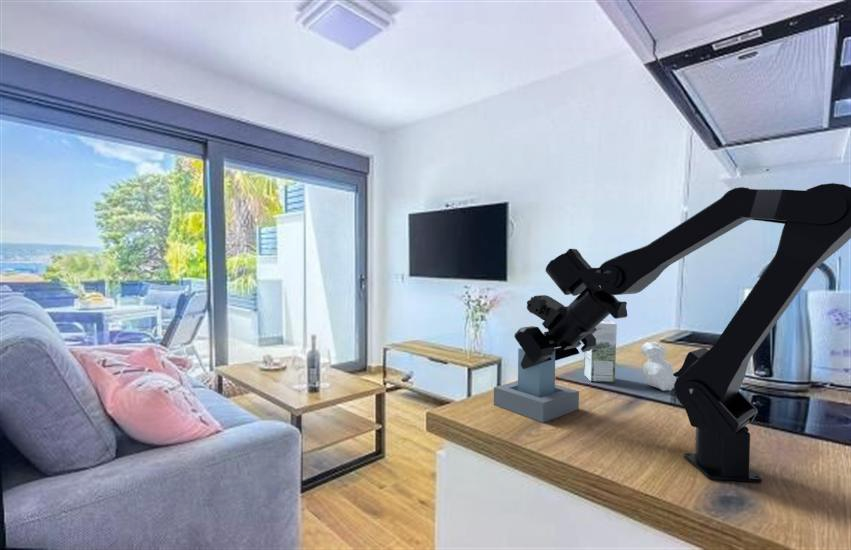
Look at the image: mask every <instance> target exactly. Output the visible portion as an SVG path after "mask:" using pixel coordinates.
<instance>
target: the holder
mask: <svg viewBox="0 0 851 550" xmlns="http://www.w3.org/2000/svg"><path fill="white" fill-rule="evenodd" d="M493 405H494V406H495V407H496V406H497V407H498V408H499V407H500V408H501V409H504V410H506V411H507V410H508V411H510V412H512V413H516V414H518V415H520V416H524V417H526V418H529V419H532V420H535V421H537V422H539V423H543V424H545V423H546V422H548V421H551V420H554V419H556V418H559V417H561V416H562V417H563V416H564V415H566V414H570V413H572V412H574V411H577V410H579V406H580V390H576V389H573V388H570V387H565V386H562V385H558V384H555V393H554V394H551V395H548V396H545V397H542V398H539V397H536V396H533V395H530V394H527V393H523V392H520V391H518V380H517V381H512V382H509V383H505V384H501V385H500V384H499V385H497V386H494V387H493Z"/></svg>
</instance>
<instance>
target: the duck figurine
mask: <svg viewBox="0 0 851 550" xmlns="http://www.w3.org/2000/svg"><path fill="white" fill-rule="evenodd" d="M640 351H641V354H642V355H643V356H647V357H648V359H647V361H646V362H645V363H643V367H642V368H643V369H642V377H643V379H644V381H645V383H646V384H647V385H648V386H650V387H654V388H657V389H660V390H661V391H663V392H664V391H669V392H670V391H672V390H674V384H675V381H676V379H677V377H676V376H673V374H674V373H675V371H674V368H673V366H672V364H671V363H670V362H669V361H668V360H666V359H665V356H666V353H667V350H666V347H663V345H660V343H657V342H656V341H652V342H648V341H646V342H645V343H644V344H643V345H642V346H641V347H640Z"/></svg>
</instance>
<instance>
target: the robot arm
mask: <svg viewBox="0 0 851 550" xmlns="http://www.w3.org/2000/svg"><path fill="white" fill-rule="evenodd" d="M748 221H758V222H765V223H775V224H781V225H782V224H783V227H782V231H781V235H780V239H779V243H778V246H777V249H776V253H775V255H774V257H773V258H772V259H771V261H770V262H769V264H768V265H767V267H765V269H764V271H763V273H762V274H761V275H760V276H759V278H758V280H757V281H756V283H755V284H754V285H753V288H752V289H751V290H750V291H749V293H748V294H747V296H746V297H745V299H744V301H743V302H742V303H741V305H740V306H739V308H738V309H737V311H736V312H735V314H734V315H733V317H732V318H731V319H730V321H729V322H728V324H727V325H726V327H725V329H724V330H723V331H722V333H721V334H720V336H719V337H718V338H717V339H716V342H714V344H713V346H711V348H709V349H708V348H706V347H704V346H703V347H702V348H698V349H695V350H691V351H688V352H687V355H686V357H685V359H684V361H683V363H682V366H681V367H680V369H678V371H675V372H674V374H673V376H676V381H675V384H674V388H673V391H674V393H675V397H676V399H677V400H678V402H679V403H680V405H682V407H684V410H685V412H686V415H687V418H688V421H689V423H690V426H691V427H692V428H693V427H694V428H695V444H694V446H695V447H694V448H695V449H694V450H695V453H690V452H685V453H684V454H683V455H684V456H683V457H684V458H685V460H687V461H689V463H691V464H692V465H693V466H694V467H695V468H696V469H697V470H699V471H700V472H701V473H702V474H703V475H704V476H705V477H706V478H708V479H711V480H716V481H717V480H720V481H737V482H751V483H752V482H753V483H754V482H755V483H762V482H763V478H762V476H760V475H758V474H757V473H756V472H755V471H753V470H752V469H750V463H751V462H750V461H751V459H750V458H751V457H750V455H751V433H750V432H749V430H750V429H749V428H748V426H747V425H748V424H752V423H753V421H754V419H755V418H756V416H757V414H758V412H759V411H758V408H757V407H756V406H755V405H754V404H753V403H752V402H751V401H750V400H749V399H748V398H747V397H746V396H745V395H744V394H743V393H742V392H741V391H740V388H741V386H742V385H743V382H744V380H745V377H746V373H747V370H748V366H749V362H750V360H751V358H752V356H753V355H754V354H755V352H756V351H757V350H758V348H759V347H760V346H761V344H762V343H763V342H764V340H765V339H766V337H767V336H768V335H769V334H770V332H771V331H772V329H773V328H774V326H775V325H776V323H777V322H778V321H779V320H780V318H781V317H782V315H783V314H784V313H785V311H786V310H787V309H788V307H789V306H790V304H792V302H793V301H794V299H795V298H796V296H797V295H798V294H799V292H800V291H801V289H802V288H803V287H804V285H805V284H806V283H807V281H808V280H809V279H810V277H811V276H812V274H813V273H814V272H815V270H816V269H817V268H818V267H820V265H822V264H823V263H824V262H826V260H828V259H829V258H830V257H831V256H832V255H834V254H835V253H836V252H838V251H839V250H840V249H841V248H842V247H843V246H844V245H845V244H847V243H848V241H850V240H851V187H850V186H848V185H845V184H842V183H835V182H831V183H824V184H823V183H822V184H819V185H817V186H813V187H810V188H807V189H806V190H799V189H797V190H796V189H781V188H780V189H778V188H777V189H769V188H768V189H763V188H762V189H761V188H759V189H757V188H756V189H754V188H749V187H744V186H743V187H742V186H740V187H734V188H732V189H729V190H728V191H726V192H725V194H723V196H721V197H720V198H719V199H718V200H716V201H714V202H713V203H711V204H710V205H708V206H706V207H705V208H703V209H702V210H700V211H699V212H697V213H695V214H694V215H692V216H691V217H688V219H686V220H684V221H683V222H681V223H680V224H678V225H677V226H675V227H673V228H672V229H670V230H668V231H667V232H665V233H664V234H663V235H660V236H659V237H658V238H656V239H655V240H653V241H651V242H650V243H648V244H647V245H645V246H641V247H640V248H639V247H638V248H637V249H633V250H630V251H627V252H624V253H621V254H620V255H619V254H618V255H617V256H615V257H612V258H610V259H608V260H606V261H603V262H602V263H601V265H599V267H592V266H591V265H590V264H589V263H588V261H586V259H585V258H584V257H583V255H582V254H581V252H580V251H579V250H578V249H576V248H568V249H567V250H566V251H565V252H563V253H561V254H560V255H558V256H556V257H555V258H554V259H551V260H550V261H549V262H548V264H547V265H546V267H545V273H546V274H547V276H549V277H550V279H551V281H553V283H554V284H555V285H556V287H558V289H559V290H560V291H561V293H563V294H564V296H565V295H566V296H569V295H572V296H574V297H575V296H576V297H575V298H574V300H573V301H572V302H570V303H569V305H568V306H567V305H566V306H565V305H564V304H562V303H561V302H559V301H557V299H555V298H553V297H551V296H550V295H546V294H544V295H543V294H541V295H539V294H538V295H533V296H531V297H530V299H529V300H527V301H526V309H527V311H528V312H529V313H530V314H532V315H534V316H537V317H538V318H539V319H541V320H542V321H543V322H542V323H541V324H542V326H543V327H544V329H546V330H547V331H544V332H542V330H541V329H540V327H538V326H533V325H531V326H524V327H520V328H519V329H518V330H517V331H516V332H515V333H514V338H515V340H516V341H517V343H518V345H519V346H520V348H522V349H523V350H524V352H525V355H524V357H523V359H522V362H521V364H520V365H521V367H522V368H523V369H526V368H529V367H532V366H535V365H538V364H541V363H544V362H547V361H550V360H552V359H551V356H552V355H553V352H554V349H555V362H556V361H559V360H562V359H566V358H570V357H573V356H576V355H579V354H580V351H581V352H582V353H585V352H586V351H590V350H591V349H592V348H593V347H594V346H596V338H595V337H594V336H593V333H594V332H595V331H597V329H596V328H595V327H596V326H597V325H598V324H599V323H600V322H602V321H603V320H606V318H607V317H608V316H609V315H611V316H612V318H613V319H625V318H627V317H628V310H627V305H628V303H627V301H621V300H618V298H616V296H619V295H620V296H622V295H636V294H638V293H640V292H642V291H644V290H645V289H646V288H648V286H650V285H651V284H652V283H653V282H654V281H656V280H657V279H658V278H659V277H660V275H661V274H662V273H663V272H664V271H665V270H666V269H667V268H668V267H669V266H671V265H673V264H674V263H676V262H678V261H679V260H681V259H683V258H685V257H686V256H689V255H690V254H691V253H693V252H695V251H697V250H698V249H700V248H702V247H704V246H705V245H708V244H709V243H711V242H712V241H714V240H716V239H718V238H719V237H721V236H723V235H724V234H726V233H728V232H730V231H731V230H733V229H735V228H737V227H739V226H740V225H742V224H744V223H746V222H748ZM582 344H583V346H582V347H581V348H580V351H579V349H578V348H579V347H580V346H581V345H582Z"/></svg>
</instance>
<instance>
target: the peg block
mask: <svg viewBox="0 0 851 550" xmlns="http://www.w3.org/2000/svg"><path fill="white" fill-rule="evenodd" d="M517 352H518V355H517V381H518V391H520V392H523V393H527V394H530V395H533V396H536V397H539V398H542V397H545V396H548V395H551V394H554V393H555V385H556V361H555V349H554V352H553V355H552V356H551V359H552V360H550V361H547V362H544V363H541V364H538V365H535V366H532V367H529V368H526V369H523V368H522V367H521V365H520V364H521V362H522V359H523V357H524V355H525V352H524V350H523V349H522V347H518V351H517Z"/></svg>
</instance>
